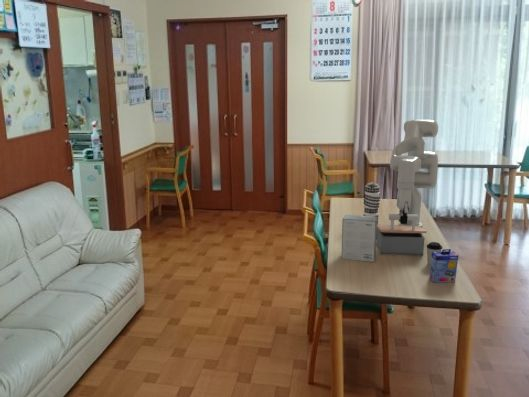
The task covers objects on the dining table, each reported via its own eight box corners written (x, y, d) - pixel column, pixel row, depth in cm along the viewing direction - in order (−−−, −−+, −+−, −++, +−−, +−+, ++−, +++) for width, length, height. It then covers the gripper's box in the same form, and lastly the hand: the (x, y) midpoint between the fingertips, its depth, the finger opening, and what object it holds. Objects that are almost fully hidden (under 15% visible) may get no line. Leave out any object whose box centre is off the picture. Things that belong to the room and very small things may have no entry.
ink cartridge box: (433, 283, 213) (436, 250, 209) (428, 277, 218) (431, 246, 215) (456, 282, 214) (459, 249, 210) (450, 276, 219) (453, 245, 215)
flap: (376, 226, 257) (377, 210, 256) (419, 227, 255) (419, 211, 254) (381, 232, 241) (381, 214, 240) (426, 233, 239) (427, 215, 238)
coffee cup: (438, 268, 228) (440, 247, 225) (423, 265, 231) (424, 244, 229) (442, 263, 234) (444, 243, 231) (427, 260, 237) (428, 240, 235)
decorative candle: (362, 223, 292) (364, 181, 285) (379, 224, 289) (381, 182, 283) (361, 228, 283) (363, 184, 277) (378, 229, 281) (380, 185, 274)
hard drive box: (376, 256, 242) (378, 216, 237) (374, 262, 235) (376, 221, 230) (343, 253, 247) (345, 213, 242) (340, 258, 240) (342, 218, 235)
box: (376, 243, 259) (377, 226, 257) (416, 244, 258) (418, 227, 255) (380, 254, 245) (381, 236, 243) (423, 255, 243) (424, 237, 241)
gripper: (394, 181, 247) (392, 217, 251) (400, 189, 231) (397, 227, 236) (410, 181, 246) (407, 217, 251) (417, 189, 230) (414, 228, 235)
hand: (402, 222), depth 243 cm, fingers closed on flap, 2 cm apart
